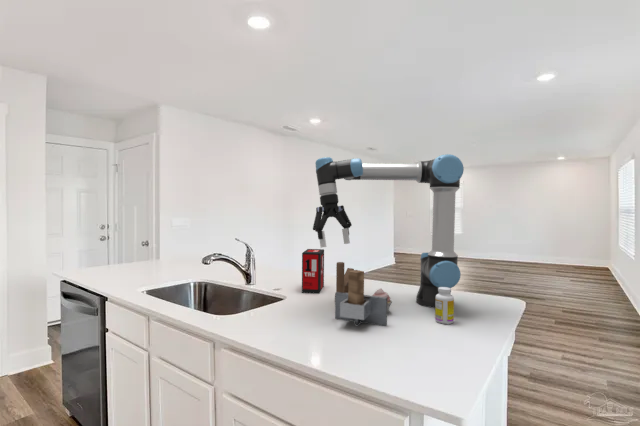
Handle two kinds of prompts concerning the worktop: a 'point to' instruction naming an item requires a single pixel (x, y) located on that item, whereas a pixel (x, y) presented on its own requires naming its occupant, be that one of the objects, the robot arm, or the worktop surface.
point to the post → (356, 287)
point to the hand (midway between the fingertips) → (335, 245)
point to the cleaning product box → (312, 271)
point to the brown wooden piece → (342, 278)
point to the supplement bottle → (444, 306)
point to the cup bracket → (361, 309)
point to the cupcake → (383, 294)
